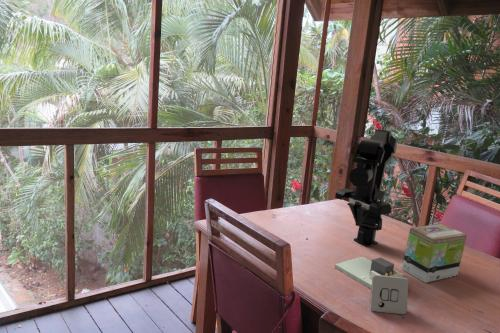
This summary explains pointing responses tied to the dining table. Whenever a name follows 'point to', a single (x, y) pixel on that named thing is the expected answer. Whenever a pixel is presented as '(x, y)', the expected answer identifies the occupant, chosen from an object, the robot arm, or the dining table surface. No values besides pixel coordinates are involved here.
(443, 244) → the tea box
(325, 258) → the dining table surface
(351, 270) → the board
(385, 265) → the plug
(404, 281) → the electrical switch
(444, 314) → the dining table surface
